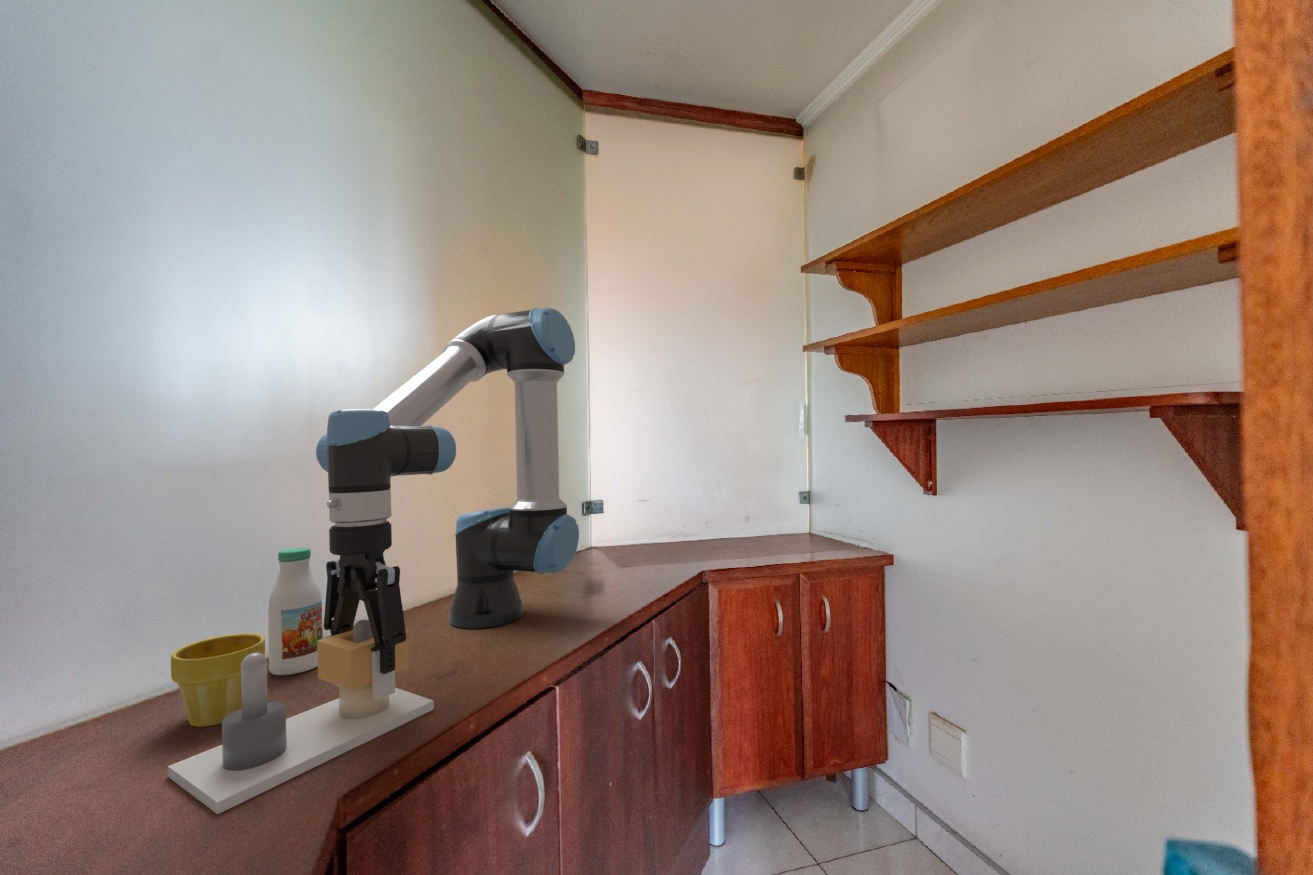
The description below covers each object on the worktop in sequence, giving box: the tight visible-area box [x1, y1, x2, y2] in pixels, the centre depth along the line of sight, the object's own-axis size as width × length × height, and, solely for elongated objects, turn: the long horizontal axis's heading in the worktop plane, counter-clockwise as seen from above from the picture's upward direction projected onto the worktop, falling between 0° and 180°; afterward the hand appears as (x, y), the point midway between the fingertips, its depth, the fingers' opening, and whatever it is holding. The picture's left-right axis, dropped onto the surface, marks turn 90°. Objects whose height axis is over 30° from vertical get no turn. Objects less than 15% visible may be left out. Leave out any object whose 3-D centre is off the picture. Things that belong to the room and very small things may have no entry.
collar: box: [317, 630, 410, 690], centre depth 75 cm, size 8×8×5 cm
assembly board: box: [167, 618, 435, 815], centre depth 69 cm, size 25×13×13 cm, turn 148°
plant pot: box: [170, 632, 266, 728], centre depth 77 cm, size 10×10×10 cm
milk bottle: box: [267, 547, 324, 676], centre depth 94 cm, size 8×8×20 cm
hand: (364, 688), depth 75 cm, fingers open, 8 cm apart
